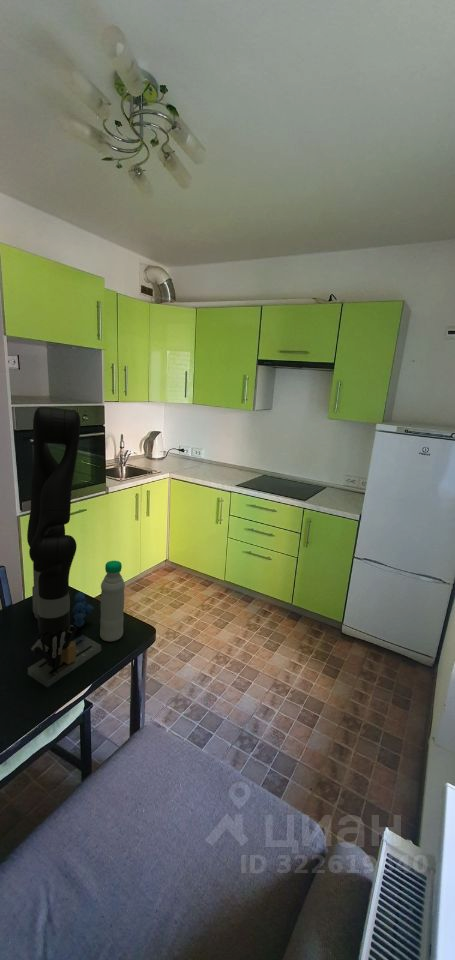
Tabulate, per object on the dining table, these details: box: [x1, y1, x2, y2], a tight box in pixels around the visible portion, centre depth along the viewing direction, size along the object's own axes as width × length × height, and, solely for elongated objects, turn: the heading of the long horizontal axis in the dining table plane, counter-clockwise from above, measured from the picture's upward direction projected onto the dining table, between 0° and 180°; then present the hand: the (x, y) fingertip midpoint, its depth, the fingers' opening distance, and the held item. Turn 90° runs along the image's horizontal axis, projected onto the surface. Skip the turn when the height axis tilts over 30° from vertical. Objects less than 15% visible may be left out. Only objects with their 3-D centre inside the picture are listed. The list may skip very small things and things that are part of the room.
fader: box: [61, 640, 76, 665], centre depth 107 cm, size 3×2×5 cm
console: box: [27, 634, 102, 688], centre depth 110 cm, size 8×18×2 cm, turn 150°
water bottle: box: [99, 560, 126, 642], centre depth 120 cm, size 7×7×25 cm
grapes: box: [71, 591, 94, 628], centre depth 125 cm, size 12×7×12 cm, turn 18°
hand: (54, 666), depth 104 cm, fingers closed
